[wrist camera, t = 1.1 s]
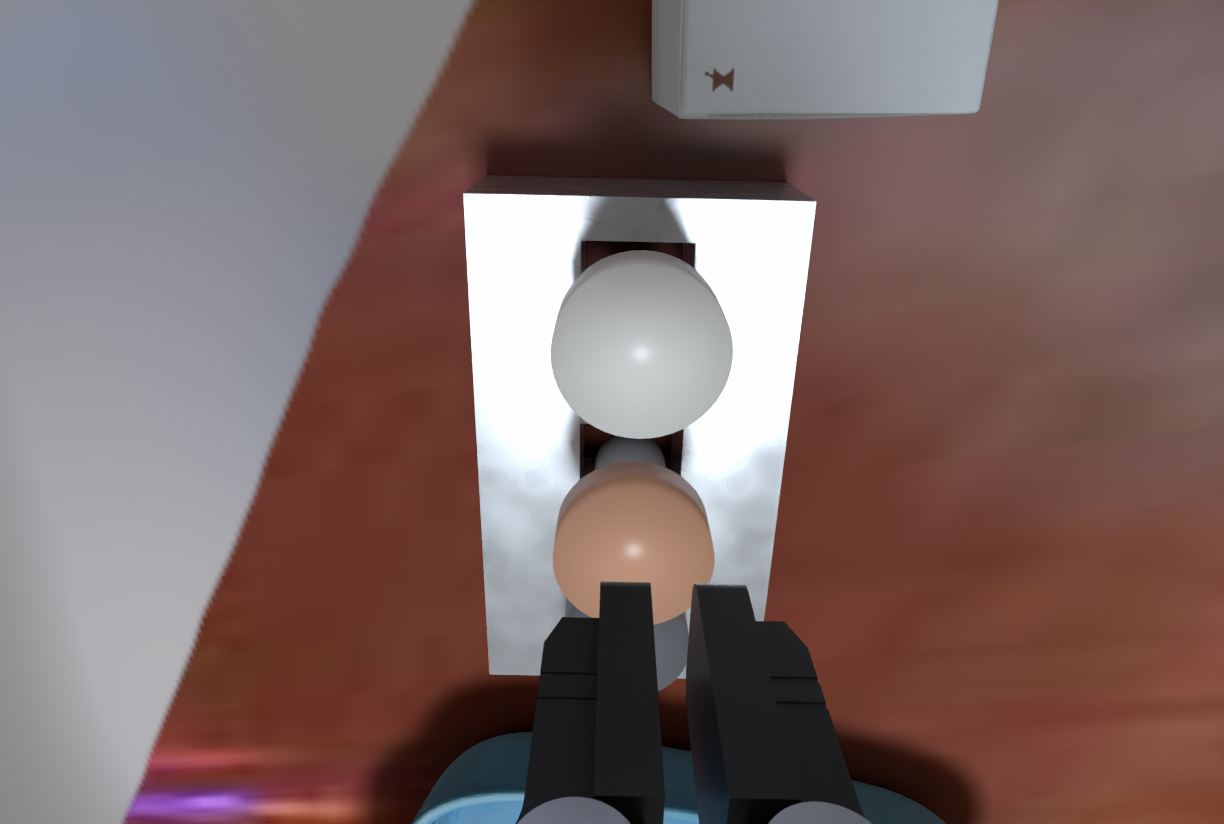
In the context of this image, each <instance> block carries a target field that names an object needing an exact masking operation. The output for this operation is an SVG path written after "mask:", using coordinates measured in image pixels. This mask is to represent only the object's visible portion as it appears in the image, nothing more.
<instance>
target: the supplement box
mask: <svg viewBox="0 0 1224 824" xmlns="http://www.w3.org/2000/svg"><path fill="white" fill-rule="evenodd" d="M998 3H999V0H652V101H653V102H654V103H656V104H658V105H659V106H661V107H663V108H664V109H666V110H668V111H669V112H671V113H672V114H674V115H676V116H677V117H679V118H680V119H758V120H761V119H834V118H874V117H897V116H920V115H947V114H970V113H976V112H977V111H978V110H979V108H980V103H981V98H982V93H983V87H984V81H985V75H986V69H987V64H988V59H989V53H990V48H991V43H992V37H993V31H994V26H995V20H996V15H997V9H998Z"/></svg>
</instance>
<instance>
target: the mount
mask: <svg viewBox="0 0 1224 824" xmlns="http://www.w3.org/2000/svg"><path fill="white" fill-rule="evenodd" d="M463 199H464V217H465V235H466V253H467V272H468V290H469V308H470V327H471V345H472V363H473V382H474V400H475V418H476V437H477V455H478V473H479V491H480V510H481V528H482V546H483V565H484V583H485V601H486V620H487V638H488V656H489V674H493V675H540V669H541V662H542V654H543V646H544V641H545V640H546V639H547V637H548V636H549V635H550V633H551V632H552V630H553V629H554V628H555V626H556V625H557V624H558V622H559V621H560V619H561V618H562V617H565V608H566V604H567V601H568V599H567V598H566V596H565V595H564V594H563V592H562V591H561V589H560V587H559V585H558V583H557V581H556V578H555V574H554V570H553V561H552V560H553V549H554V541H555V533H556V526H557V518H558V514H559V510H560V507H561V505H562V502H563V500H564V498H565V497H566V495H567V493H568V492H569V491H570V490H571V488H572V487H573V486H574V485H575V484H576V483H577V482H578V481H579V480H581V479H582V478H583V477H585V476H586V475H587V474H589V473H591V472H593V471H594V470H595V460H596V457H584V424H589V423H587V422H586V421H585V420H583V419H582V418H581V417H580V416H579V415H577V414H576V413H575V412H574V411H573V410H572V408H571V407H570V406H569V405H568V404H567V402H566V401H565V399H564V398H563V397H562V395H561V393H560V391H559V389H558V387H557V385H556V382H555V379H554V377H553V372H552V367H551V358H550V349H551V340H552V335H553V330H554V326H555V322H556V318H557V314H558V310H559V307H560V304H561V301H562V299H563V297H564V295H565V294H566V292H567V290H568V289H569V287H570V286H571V284H572V283H573V282H574V281H575V279H576V278H577V277H578V276H579V275H580V274H581V273H582V272H584V271H585V270H586V241H627V242H671V243H683V251H682V261H684V262H686V263H687V264H689V265H690V266H691V267H693V268H694V269H696V270H697V271H698V272H699V273H700V274H701V275H702V276H703V277H704V278H705V279H706V281H707V282H708V283H709V284H710V286H711V287H712V289H713V291H714V292H715V294H716V296H717V298H718V301H719V303H720V305H721V307H722V310H723V312H724V314H725V316H726V319H727V321H728V323H729V327H730V330H731V334H732V340H733V362H732V368H731V372H730V375H729V379H728V381H727V384H726V386H725V388H724V390H723V392H722V394H721V395H720V397H719V398H718V400H717V401H716V402H715V404H714V405H713V406H712V407H711V409H710V410H709V411H707V412H706V413H705V414H704V415H703V416H702V417H701V418H700V419H698V420H697V421H695V422H694V423H693V424H691V425H689V426H687V427H686V428H684V429H682V430H679V431H677V432H675V433H672V438H671V455H670V459H665V466H666V468H667V469H669V470H671V471H673V472H675V473H677V474H678V475H680V476H681V477H683V478H684V479H685V480H686V481H687V482H689V483H690V485H691V486H692V487H693V488H694V489H695V490H696V492H697V493H698V495H699V496H700V498H701V500H702V502H703V504H704V507H705V510H706V513H707V518H708V523H709V528H710V533H711V537H712V542H713V548H714V554H715V562H714V570H713V574H712V577H711V580H710V583H709V584H745V585H746V586H747V589H748V592H749V596H750V600H751V604H752V608H753V612H754V616H755V620H756V621H764V615H765V607H766V599H767V591H768V583H769V576H770V568H771V560H772V552H773V544H774V536H775V528H776V520H777V512H778V504H779V496H780V488H781V480H782V472H783V464H784V456H785V448H786V440H787V432H788V424H789V417H790V409H791V401H792V393H793V385H794V377H795V369H796V361H797V353H798V345H799V337H800V329H801V321H802V313H803V305H804V297H805V289H806V281H807V273H808V266H809V258H810V250H811V242H812V234H813V226H814V218H815V210H816V202H817V201H815V200H813V199H812V198H810V197H809V196H807V195H806V194H804V193H803V192H801V191H800V190H798V189H796V188H795V187H793V186H792V185H790V184H789V183H787V182H756V181H713V180H670V179H627V178H584V177H541V176H498V175H486V176H484V177H483V178H482V179H481V180H479V181H478V182H477V183H476V184H474V185H473V186H472V187H471V188H469V189H468V190H467V191H466V192H464V193H463ZM690 613H691V607H690V608H689V609H688V610H686V617H687V625H688V633H689V625H690ZM677 678H686V666H685V668H684V670H683V671H682V673H681V674H680V675H679V676H678V677H677Z"/></svg>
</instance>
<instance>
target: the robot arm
mask: <svg viewBox="0 0 1224 824" xmlns="http://www.w3.org/2000/svg"><path fill="white" fill-rule="evenodd" d="M686 707H687V718H688V727H689V736H690V745H691V754H692V763H693V773H694V782H695V791H696V800H697V809H698V818H699V824H872V823H871V822H870V821H868V820H867V819H866V818H865V816H864V814H863V812H862V809H861V807H860V804H859V801H858V798H857V795H856V792H855V789H854V786H853V783H852V780H851V777H850V774H849V771H848V768H847V765H846V762H845V759H844V756H843V753H842V750H841V747H840V744H839V741H838V738H837V735H836V732H835V729H834V726H833V723H832V720H831V717H830V714H829V711H828V709H826V702H825V699H824V696H823V693H822V690H821V687H820V684H819V683H818V682H817V675H816V672H815V669H814V666H813V663H812V660H811V657H810V654H809V651H808V648H807V646H806V645H805V644H804V643H803V642H802V641H801V640H800V639H799V638H798V637H797V635H796V634H795V633H794V632H793V631H792V630H791V629H790V628H789V627H788V625H787V624H786V623H785V622H773V621H756V620H755V616H754V612H753V608H752V604H751V600H750V596H749V592H748V589H747V586H746V585H745V584H702V583H694V585H693V590H692V600H691V613H690V625H689V638H688V651H687V664H686ZM664 806H665V788H664V773H663V758H662V743H661V728H660V713H659V698H658V683H657V668H656V654H655V639H654V624H653V609H652V594H651V583H650V582H604V581H600V608H599V618H579V617H562V618H561V619H560V621H559V622H558V624H557V625H556V626H555V628H554V629H553V630H552V632H551V633H550V635H549V636H548V637H547V639H546V640H545V641H544V646H543V654H542V662H541V669H540V678H539V685H538V693H537V703H536V709H535V717H534V724H533V732H532V740H531V748H530V756H529V764H528V772H527V779H526V787H525V795H524V801H523V806H522V810H521V812H520V815H519V817H518V820H517V822H516V823H515V824H663V820H664Z"/></svg>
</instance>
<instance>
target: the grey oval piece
mask: <svg viewBox="0 0 1224 824" xmlns="http://www.w3.org/2000/svg"><path fill="white" fill-rule="evenodd" d="M550 358H551V367H552V372H553V377H554V379H555V382H556V385H557V387H558V389H559V391H560V393H561V395H562V397H563V398H564V399H565V401H566V402H567V404H568V405H569V406H570V407H571V408H572V410H573V411H574V412H575V413H576V414H577V415H579V416H580V417H581V418H582V419H583V420H585V421H586V422H587V423H589V424H591V425H592V426H594V427H596V428H598V429H600V430H602V431H604V432H607V433H610V434H613V435H616V436H620V437H625V438H635V439H646V438H655V437H661V436H665V435H669V434H672V433H675V432H677V431H679V430H682V429H684V428H686V427H687V426H689V425H691V424H693V423H694V422H695V421H697V420H698V419H700V418H701V417H702V416H703V415H704V414H705V413H706V412H707V411H709V410H710V409H711V407H712V406H713V405H714V404H715V402H716V401H717V400H718V398H719V397H720V395H721V394H722V392H723V390H724V388H725V386H726V384H727V381H728V379H729V375H730V372H731V368H732V362H733V340H732V334H731V330H730V327H729V323H728V321H727V319H726V316H725V314H724V312H723V310H722V307H721V305H720V303H719V301H718V298H717V296H716V294H715V292H714V291H713V289H712V287H711V286H710V284H709V283H708V282H707V281H706V279H705V278H704V277H703V276H702V275H701V274H700V273H699V272H698V271H697V270H696V269H694V268H693V267H691V266H690V265H689V264H687V263H686V262H684V261H682V260H680V259H678V258H676V257H673V256H671V255H668V254H665V253H661V252H656V251H648V250H633V251H626V252H620V253H617V254H614V255H611V256H608V257H606V258H604V259H601V260H599V261H598V262H596V263H594V264H593V265H591V266H590V267H588V268H587V269H586V270H585V271H584V272H582V273H581V274H580V275H579V276H578V277H577V278H576V279H575V281H574V282H573V283H572V284H571V286H570V287H569V289H568V290H567V292H566V294H565V295H564V297H563V299H562V301H561V304H560V307H559V310H558V314H557V318H556V322H555V326H554V330H553V335H552V340H551V349H550Z"/></svg>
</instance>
